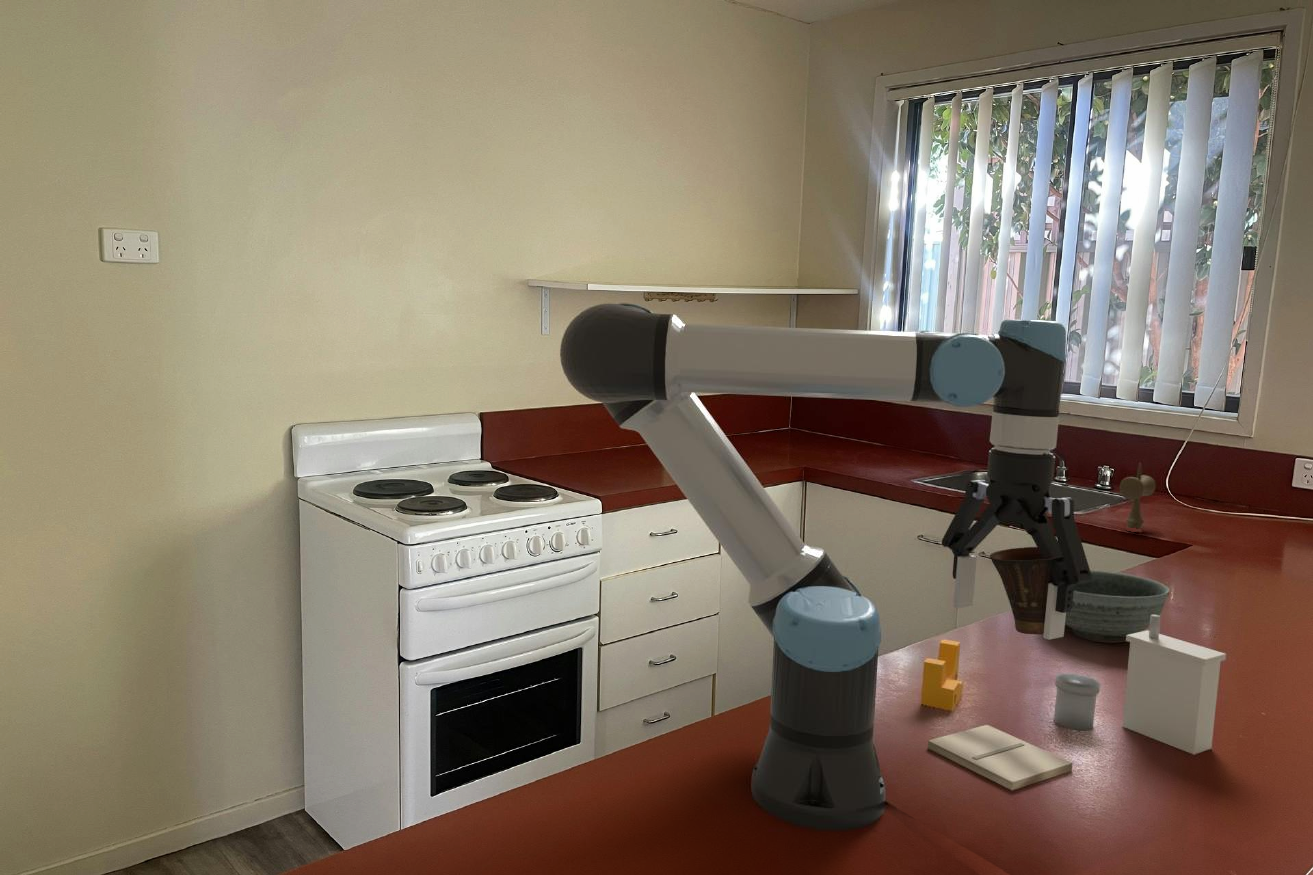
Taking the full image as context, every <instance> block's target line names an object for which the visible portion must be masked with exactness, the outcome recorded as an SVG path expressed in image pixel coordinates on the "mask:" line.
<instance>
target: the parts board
mask: <svg viewBox="0 0 1313 875" xmlns="http://www.w3.org/2000/svg"><path fill="white" fill-rule="evenodd" d="M927 749H929V750H931V751H933V752H934V753H936V754H938V755H941V756H942V757H944V758H946V759H949V760H950V761H952V762H954V763H957V764H958V765H960V766H963V767H965V768H967V769H969V770H970V771H972V772H974V773H976V774H978V775H980V776H982V777H985V778H986V779H989V780H990V781H992V782H994V783H997V784H999V785H1000V786H1002V787H1004V788H1006V789H1008V790H1010V791H1014V790H1018V789H1021V788H1024V787H1026V786H1030V785H1032V784H1036V783H1038V782H1039V783H1040V782H1042V781H1046V780H1048V779H1051V778H1054V777H1057V776H1059V775H1063V774H1067V773H1069V772H1072V770H1073V762H1071V761H1069V760H1067V759H1064V758H1062V757H1060V756H1058V755H1055V754H1054V753H1051V752H1049V751H1047V750H1045V749H1042V748H1040V747H1038V746H1036V745H1033V744H1031V743H1028V742H1027V741H1025V740H1023V739H1020V738H1019V737H1018V738H1017V737H1015V736H1013V735H1010V734H1009V733H1006V732H1005V731H1002V730H1000V729H997V728H996V727H993V726H991V725H989V724H984V725H981V726H977V727H974V728H973V727H972V728H970V729H966V730H962V731H958V732H955V733H951V734H948V735H943V736H940V737H937V738H933V739H932V738H931V739H930V740H928V741H927Z"/></svg>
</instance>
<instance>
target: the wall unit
mask: <svg viewBox="0 0 1313 875" xmlns="http://www.w3.org/2000/svg"><path fill="white" fill-rule="evenodd" d="M1160 629H1161V616H1160V615H1151V618H1150V626H1149V629H1145V630H1143V631H1141V632H1138V633H1133V634H1129V635H1126V641H1125V642H1129V652H1128V661H1127V662H1128V664H1127V672H1126V673H1127V674H1126V684H1125V696H1124V703H1123V705H1124V706H1123V714H1122V715H1123V716H1122V727H1123V728H1125V729H1128V730H1131V731H1133V732H1136V733H1139V734H1141V735H1142V736H1146V737H1148V738H1151V739H1153V740H1156V741H1159V742H1161V743H1163V744H1165V745H1167V746H1171V747H1174V748H1176V749H1179V750H1181V751H1184V752H1186V753H1188V754H1191V755H1193V756H1194V755H1197V754H1199V753H1203V752H1205V751H1208V750H1211V749H1212V745H1213V735H1214V726H1215V718H1216V716H1215V715H1216V706H1217V700H1218V699H1217V698H1218V688H1219V679H1220V669H1221V662H1222V661H1226V659H1227V653H1226V652H1221V651H1217V650H1215V649H1211V648H1207V647H1206V646H1202V645H1198V644H1194V643H1191V642H1188V641H1185V640H1181V639H1178V638H1175V637H1171V636H1168V635H1165V634H1162V633H1160Z"/></svg>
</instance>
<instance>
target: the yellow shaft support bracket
mask: <svg viewBox="0 0 1313 875" xmlns="http://www.w3.org/2000/svg"><path fill="white" fill-rule="evenodd" d="M960 650H961V641H955V640H949V639H946V638H945V639H943V638H942V639H941V641H940V642H939V649H938V654H937V656H938V657H937V659H935V658H929V657H927V658H926V659H925V660H924V661H923V671H922V686H921V688H922V689H921V699H920V700H921V701H920V705H921V704H924V705H923V706H925V705H927V706H926V707H929V706H933V707H935V708H934V709H938V708H941V709H940V710H943V709H944V711H948V710H950V711H949V712H953V711H954V709H955V708H956V706H957V705H958V704H959V702H960V700H961V699H962V696H963V684H964V681H962V680H958V678H959V662H960ZM960 698H961V699H960ZM959 699H960V700H959ZM958 701H959V702H958ZM956 704H957V705H956ZM933 707H932V708H933Z"/></svg>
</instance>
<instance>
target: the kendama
mask: <svg viewBox="0 0 1313 875" xmlns="http://www.w3.org/2000/svg"><path fill="white" fill-rule="evenodd" d="M1142 466H1143V465H1142V463H1141V462H1139V464H1138V467H1137V474H1136V477H1135V476H1126V477H1124V478H1123V479H1122V480H1121V481H1120V483H1119V492H1120V495H1121V496H1122V497H1123V499H1125V500H1129V501H1132V505H1131V509H1130V511H1129V512H1130V513H1129V515H1128V517H1127V518H1126V519H1125V522H1126V528H1127V527H1129V528H1136V529H1140V528H1142V529H1143V525H1144V524H1145V520H1143V517H1142V509H1141V508H1142V507H1141V498H1142V497H1149V496H1151V495H1153V494H1154V492H1155V490H1156V488H1157V487H1156V480H1155V479H1154V478H1153V477H1151V476H1150V475H1145V474H1142V472H1143V470H1142V469H1143V468H1142Z"/></svg>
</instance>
